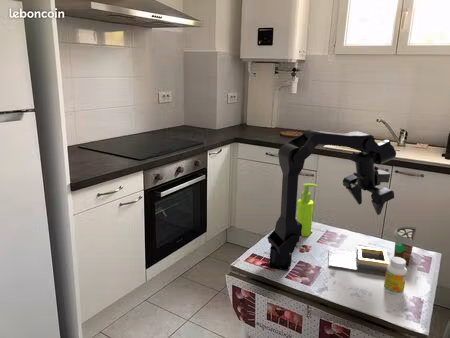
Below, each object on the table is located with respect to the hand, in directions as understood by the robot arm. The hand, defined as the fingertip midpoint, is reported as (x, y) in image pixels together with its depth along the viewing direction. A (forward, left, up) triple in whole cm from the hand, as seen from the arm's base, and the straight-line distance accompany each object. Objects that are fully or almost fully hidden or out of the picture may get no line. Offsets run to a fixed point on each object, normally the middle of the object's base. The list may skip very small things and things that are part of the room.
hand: (369, 209), depth 130 cm
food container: (+12, -3, -16) cm, 20 cm away
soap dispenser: (-21, +6, -15) cm, 27 cm away
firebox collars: (-2, -11, -15) cm, 19 cm away
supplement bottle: (+7, -23, -15) cm, 29 cm away
